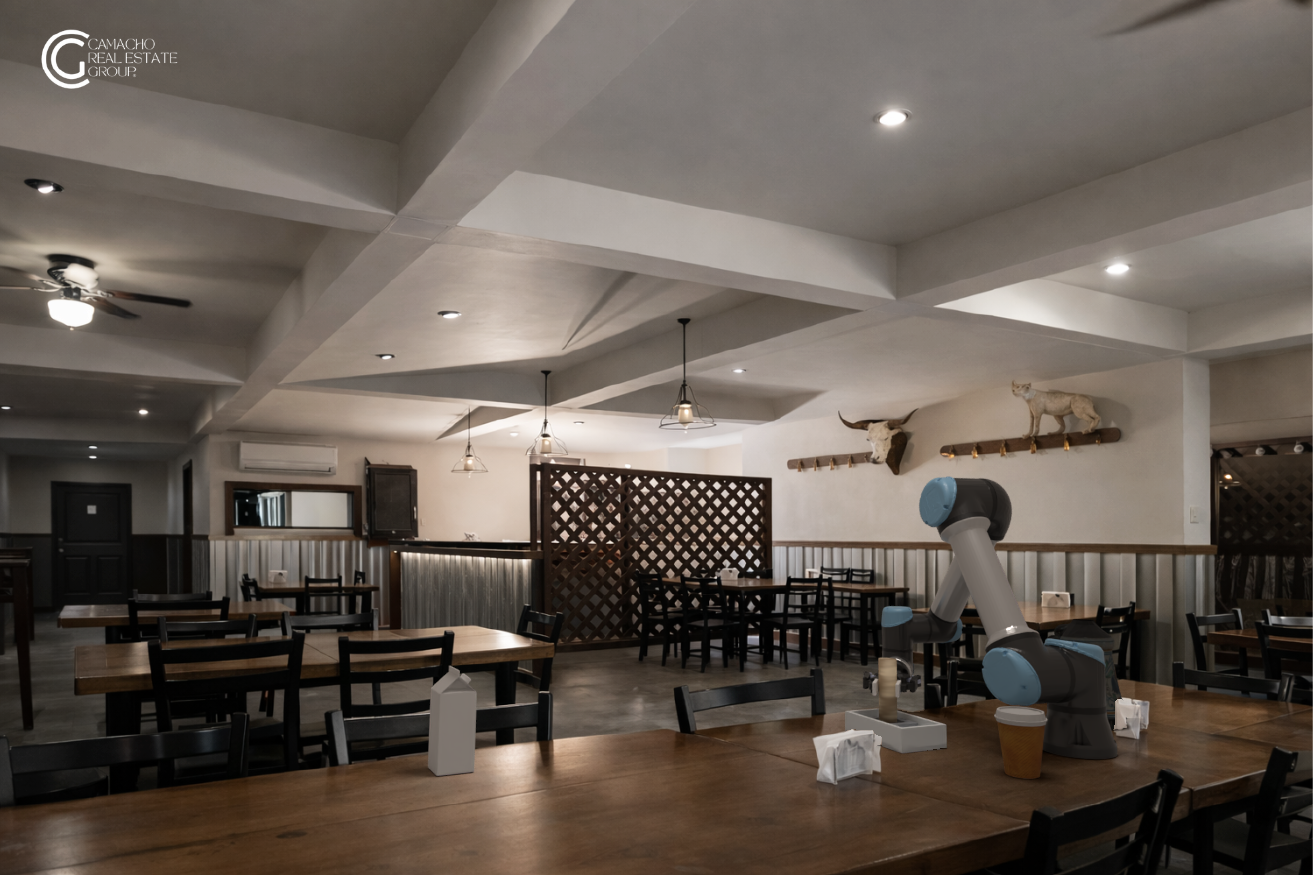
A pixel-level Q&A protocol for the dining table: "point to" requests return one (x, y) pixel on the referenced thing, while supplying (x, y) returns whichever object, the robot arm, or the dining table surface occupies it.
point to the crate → (900, 730)
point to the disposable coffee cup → (1021, 740)
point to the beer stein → (1095, 635)
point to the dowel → (887, 690)
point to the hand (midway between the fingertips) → (885, 690)
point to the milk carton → (452, 725)
